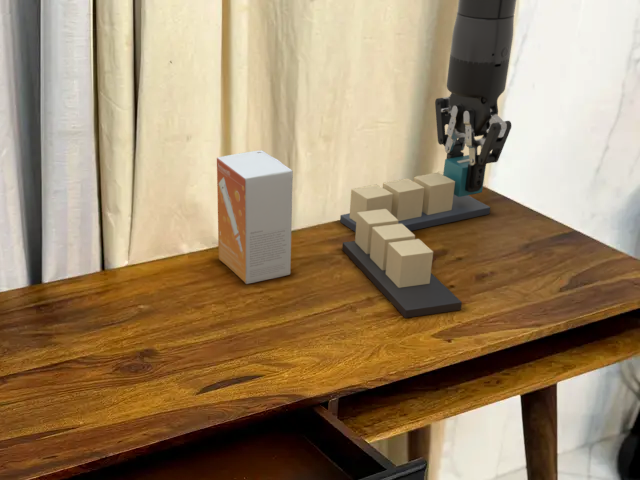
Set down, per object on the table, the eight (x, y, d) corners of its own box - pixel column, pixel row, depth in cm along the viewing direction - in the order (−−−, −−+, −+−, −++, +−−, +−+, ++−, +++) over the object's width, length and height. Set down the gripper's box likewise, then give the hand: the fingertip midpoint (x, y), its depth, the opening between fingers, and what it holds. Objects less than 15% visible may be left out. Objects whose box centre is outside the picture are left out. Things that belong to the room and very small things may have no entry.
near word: (342, 249, 127) (344, 211, 124) (392, 243, 129) (395, 205, 126) (405, 318, 112) (409, 277, 109) (461, 310, 114) (466, 269, 111)
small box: (217, 260, 124) (215, 156, 116) (262, 251, 127) (263, 148, 119) (245, 285, 119) (244, 177, 111) (291, 275, 121) (294, 169, 113)
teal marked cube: (482, 192, 136) (486, 162, 133) (458, 197, 134) (462, 167, 132) (464, 183, 139) (468, 154, 136) (441, 187, 137) (444, 158, 135)
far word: (459, 197, 141) (463, 162, 138) (489, 214, 137) (495, 178, 133) (339, 222, 134) (341, 185, 131) (367, 240, 129) (370, 203, 126)
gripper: (423, 43, 129) (410, 173, 140) (491, 68, 119) (471, 207, 130) (470, 37, 132) (453, 165, 142) (540, 61, 122) (517, 198, 132)
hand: (462, 184), depth 136 cm, fingers closed on teal marked cube, 4 cm apart
